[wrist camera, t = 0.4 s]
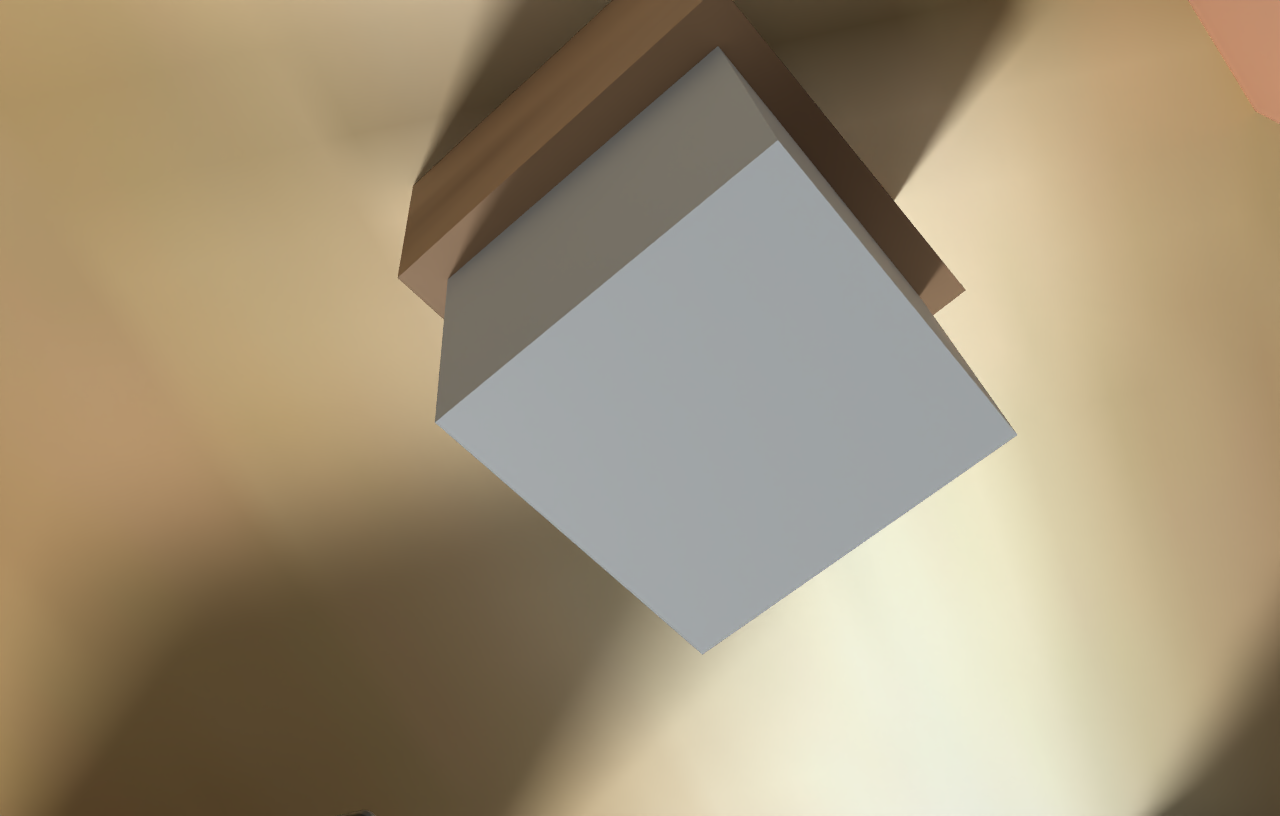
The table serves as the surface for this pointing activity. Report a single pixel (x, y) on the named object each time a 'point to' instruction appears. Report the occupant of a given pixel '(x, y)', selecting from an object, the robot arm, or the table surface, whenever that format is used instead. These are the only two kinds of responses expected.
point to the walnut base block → (599, 108)
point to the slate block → (705, 363)
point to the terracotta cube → (1248, 46)
